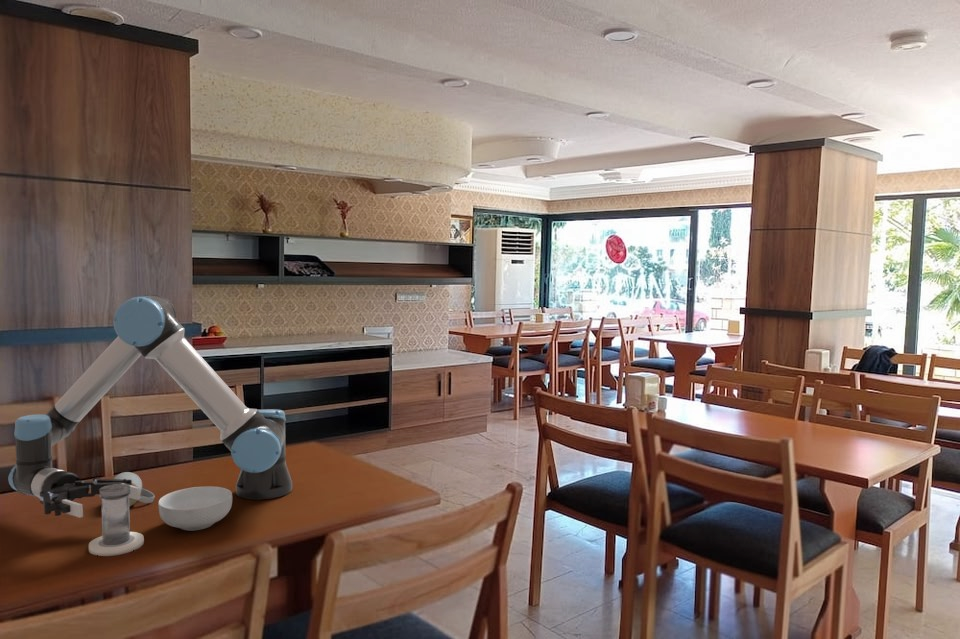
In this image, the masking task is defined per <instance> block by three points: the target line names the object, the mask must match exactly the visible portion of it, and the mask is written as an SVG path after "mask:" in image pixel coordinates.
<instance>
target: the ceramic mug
mask: <svg viewBox="0 0 960 639" xmlns="http://www.w3.org/2000/svg"><path fill="white" fill-rule="evenodd" d="M113 479H126V480H132V486H135V487H139V488H140V499H139V500H136V499H132V498H129V508H130V507H132V506H134V505H135V504H136V503H137V502H139V503H143V504H151V503H153V502H154V500H155V498H156V496H155V494H154V493H153V492H152V491H150V490H147V489H145V488H143V481H142V479H141V478H140V476H139V475H138V474H136V473H134V472H132V471H131V472H130V471H124V472H121V473H118V474H117V475H115V476H114V477H113Z"/></svg>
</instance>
